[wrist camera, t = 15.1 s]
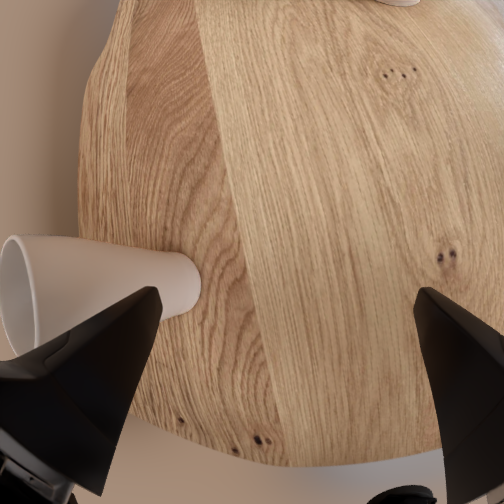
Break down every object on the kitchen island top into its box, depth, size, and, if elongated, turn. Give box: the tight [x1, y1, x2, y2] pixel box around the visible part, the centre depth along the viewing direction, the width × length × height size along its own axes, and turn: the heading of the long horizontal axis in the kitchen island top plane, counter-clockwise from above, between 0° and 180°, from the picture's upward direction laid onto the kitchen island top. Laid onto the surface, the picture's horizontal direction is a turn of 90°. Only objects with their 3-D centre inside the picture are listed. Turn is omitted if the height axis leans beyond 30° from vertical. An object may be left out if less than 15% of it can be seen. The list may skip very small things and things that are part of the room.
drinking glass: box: [0, 234, 201, 357], centre depth 17 cm, size 7×7×15 cm
